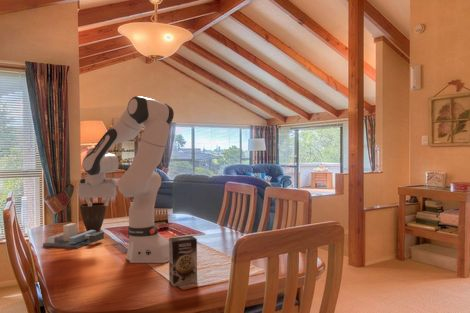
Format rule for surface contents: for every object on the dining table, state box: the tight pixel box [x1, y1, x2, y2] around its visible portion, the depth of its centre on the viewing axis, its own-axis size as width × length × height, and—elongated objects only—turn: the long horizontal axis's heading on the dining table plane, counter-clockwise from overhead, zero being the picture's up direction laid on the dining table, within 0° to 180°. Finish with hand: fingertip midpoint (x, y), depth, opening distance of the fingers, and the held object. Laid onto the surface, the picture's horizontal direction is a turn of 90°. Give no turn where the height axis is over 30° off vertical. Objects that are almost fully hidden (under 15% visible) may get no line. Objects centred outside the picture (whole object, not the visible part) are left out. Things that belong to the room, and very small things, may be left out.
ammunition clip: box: [154, 208, 169, 225], centre depth 221 cm, size 11×2×12 cm, turn 117°
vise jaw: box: [69, 230, 105, 244], centre depth 188 cm, size 11×18×3 cm, turn 166°
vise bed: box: [42, 229, 93, 250], centre depth 190 cm, size 20×20×4 cm
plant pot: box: [79, 202, 107, 233], centre depth 217 cm, size 15×15×16 cm
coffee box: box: [168, 235, 198, 287], centre depth 131 cm, size 9×6×16 cm
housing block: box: [62, 222, 78, 241], centre depth 191 cm, size 4×6×8 cm, turn 166°
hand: (98, 206), depth 186 cm, fingers open, 8 cm apart
